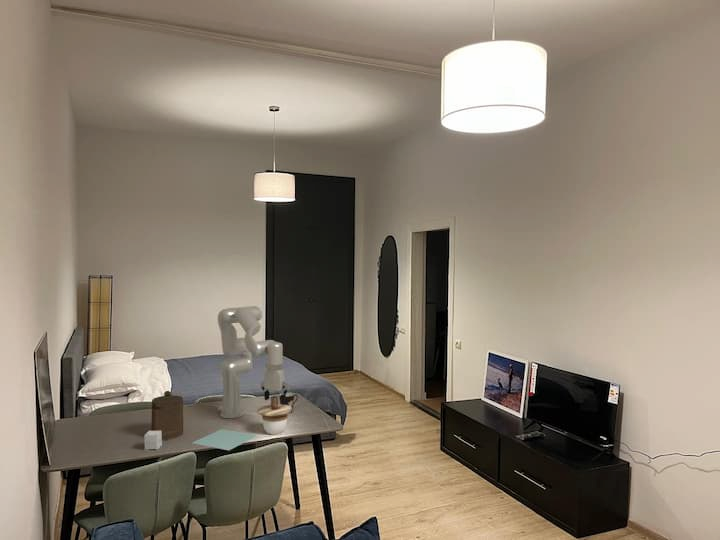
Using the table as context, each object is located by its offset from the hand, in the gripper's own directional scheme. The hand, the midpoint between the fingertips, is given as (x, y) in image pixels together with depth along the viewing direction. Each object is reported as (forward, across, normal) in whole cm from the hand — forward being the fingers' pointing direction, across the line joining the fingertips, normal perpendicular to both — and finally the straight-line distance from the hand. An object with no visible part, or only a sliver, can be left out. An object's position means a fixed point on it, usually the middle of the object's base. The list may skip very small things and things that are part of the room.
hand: (274, 400), depth 268 cm
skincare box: (+17, -39, -42) cm, 60 cm away
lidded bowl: (+16, 0, 0) cm, 16 cm away
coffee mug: (+16, -13, +34) cm, 40 cm away
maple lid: (+5, 0, 0) cm, 5 cm away
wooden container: (+17, -46, -26) cm, 55 cm away
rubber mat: (+16, -16, -19) cm, 30 cm away
